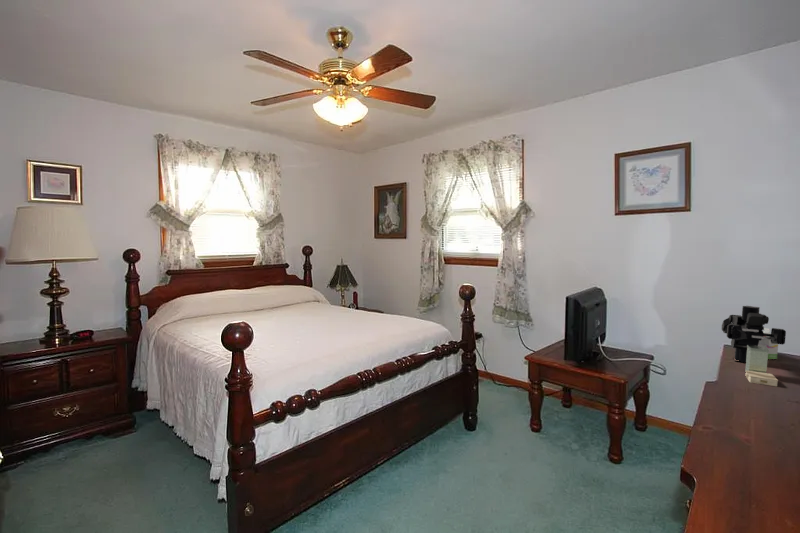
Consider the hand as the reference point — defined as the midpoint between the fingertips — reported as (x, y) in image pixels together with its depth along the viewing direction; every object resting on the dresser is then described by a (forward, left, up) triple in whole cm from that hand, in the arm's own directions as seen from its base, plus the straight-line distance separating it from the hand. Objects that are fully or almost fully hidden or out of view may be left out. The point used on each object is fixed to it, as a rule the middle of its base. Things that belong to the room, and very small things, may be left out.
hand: (760, 338), depth 165 cm
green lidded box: (-3, 0, -17) cm, 17 cm away
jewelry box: (+5, 0, -17) cm, 18 cm away
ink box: (-39, +11, -17) cm, 44 cm away
